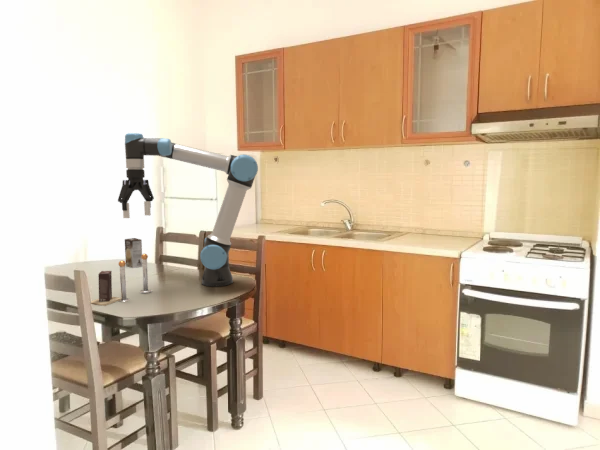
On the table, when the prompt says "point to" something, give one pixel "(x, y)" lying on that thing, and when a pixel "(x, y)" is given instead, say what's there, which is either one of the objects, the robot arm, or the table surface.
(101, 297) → the box
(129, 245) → the coffee box
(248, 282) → the table surface
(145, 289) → the gate post
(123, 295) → the corner post
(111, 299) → the pad
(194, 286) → the table surface
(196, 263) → the table surface
